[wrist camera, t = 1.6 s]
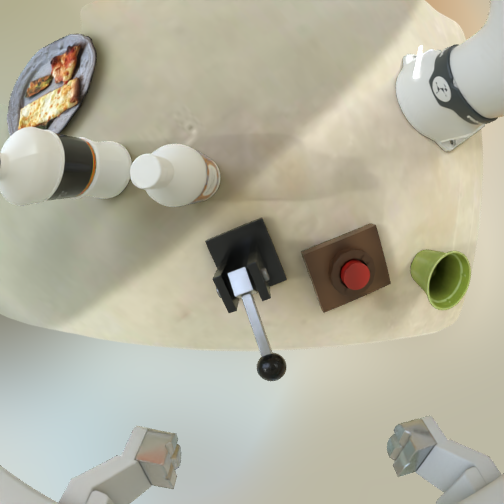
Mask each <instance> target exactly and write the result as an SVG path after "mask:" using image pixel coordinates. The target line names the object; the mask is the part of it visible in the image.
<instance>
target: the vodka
mask: <svg viewBox="0 0 504 504" xmlns="http://www.w3.org/2000/svg"><path fill="white" fill-rule="evenodd" d="M131 165H132V161H131V157H130V154H129V152H128V151H127V149H126V148H125V147H124V146H123V145H121V144H119V143H116V142H112V141H103V142H96V141H92V140H90V139H88V138H85V137H78V138H76V137H72V136H67V135H62V134H57V133H54V132H52V131H50V130H42V129H39V128H36V127H26V128H22V129H20V130H18V131H16V132H15V133H13V134H12V135H11V136H10V137H9V138H8V140H7V141H6V142H5V144H4V146H3V148H2V150H1V152H0V192H1V194H2V195H3V197H4V198H5V199H6V200H7V201H8V202H10V203H11V204H14V205H17V206H25V205H29V204H33V203H37V204H38V203H42V202H44V201H47V200H55V199H64V198H71V199H79V198H82V197H96V198H100V199H106V198H112V197H115V196H117V195H118V194H120V193H121V192H122V191H123V190H124V189H125V187H126V186H127V184H128V182H129V180H130V168H131Z"/></svg>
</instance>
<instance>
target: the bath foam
mask: <svg viewBox="0 0 504 504" xmlns="http://www.w3.org/2000/svg"><path fill="white" fill-rule="evenodd" d="M130 178H131V180H132V182H133V184H134V185H135V186H136V187H138V188H140V189H145V190H146V192H147V193H148V195H149V196H150V197H151V198H152V199H153V200H155V201H156V202H158V203H159V204H162V205H165V206H169V207H181V206H185V205H189V204H193V203H197V202H201V201H204V200H207V199H208V198H210V197H211V196H213V195H214V194H215V192H216V191H217V189H218V187H219V184H220V171H219V168H218V166H217V165H216V163H215V162H214V161H213V160H211V159H210V158H209V157H207V156H205V155H204V154H202V153H200V152H199V151H197V150H195V149H194V148H192V147H190V146H187V145H183V144H169V145H165V146H162V147H160V148H158V149H157V150H155V151H154V152H153V153H152V154H143V155H140V156H139V157H137V158H136V159H135V160H134V161H133V163H132V165H131V168H130Z"/></svg>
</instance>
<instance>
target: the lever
mask: <svg viewBox="0 0 504 504" xmlns="http://www.w3.org/2000/svg"><path fill="white" fill-rule="evenodd" d="M227 274H228V277H229V280H230V284H231V287H232V290H233V293H234V296H235V297H237V298H240V299H241V298H242V300H243V303H244V306H245V309H246V312H247V315H248V318H249V321H250V324H251V327H252V330H253V333H254V335H255V338H256V341H257V344H258V347H259V350H260V353H261V356H262V357H261V358H260V359H259V361H258V364H257V371H258V374H259V375H260V376H261V377H262V378H263V379H265V380H267V381H276V380H278V379H280V378H281V377H282V376H283V375H284V374H285V371H286V362H285V360H284V359H283V357H282V356H280V355H279V354H276V353H272V350H271V347H270V344H269V341H268V338H267V335H266V333H265V330H264V327H263V324H262V321H261V318H260V315H259V313H258V310H257V307H256V304H255V301H254V298H253V295H252V294H255V293H257V289H256V286H255V283H254V281H253V278H252V276H251V274H250V271H249V269H248V268H246V267H242V268H240V269H237V270H235V271H232V272H230V273H227Z"/></svg>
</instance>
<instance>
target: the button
mask: <svg viewBox="0 0 504 504" xmlns="http://www.w3.org/2000/svg"><path fill="white" fill-rule="evenodd" d="M369 278H370V271H369V269H368V267H367V266H366V265H365V264H363V263H362V262H361V261H358V260H351V261H349V262H347V263H346V264H345V265H344V266H343V268H342V270H341V279H342V281H343V282H344V284H345V285H346V286H347V287H348V288H349V289H352V290H359V289H361V288H363V287H364V286H365V285H366V284H367V283H368V281H369Z"/></svg>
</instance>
